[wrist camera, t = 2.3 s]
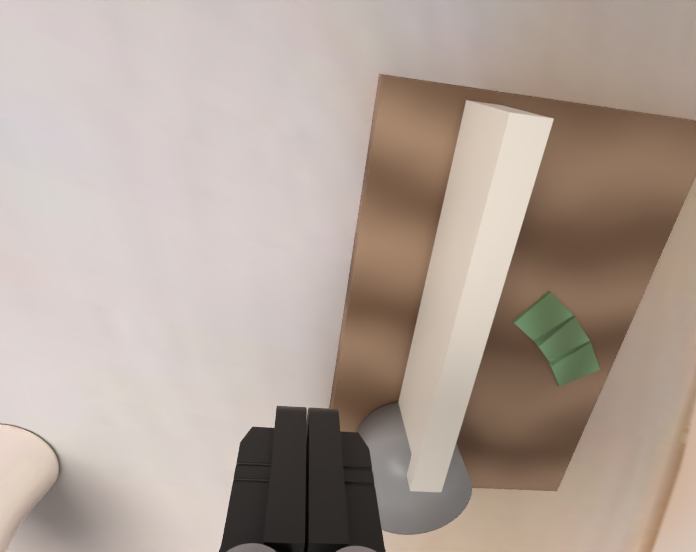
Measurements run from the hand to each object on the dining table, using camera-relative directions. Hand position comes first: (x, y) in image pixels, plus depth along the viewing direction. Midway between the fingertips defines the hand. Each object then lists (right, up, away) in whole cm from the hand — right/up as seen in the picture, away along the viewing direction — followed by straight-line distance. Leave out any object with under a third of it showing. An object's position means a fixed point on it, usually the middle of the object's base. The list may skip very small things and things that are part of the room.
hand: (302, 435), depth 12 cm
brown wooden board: (+9, +2, +16) cm, 18 cm away
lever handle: (+6, +1, +14) cm, 15 cm away
